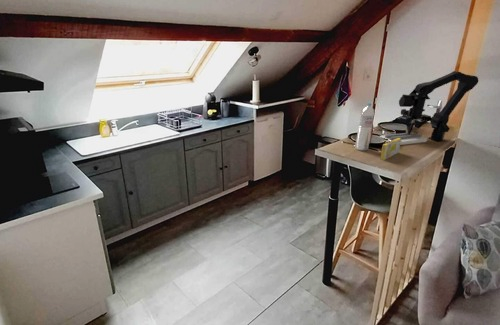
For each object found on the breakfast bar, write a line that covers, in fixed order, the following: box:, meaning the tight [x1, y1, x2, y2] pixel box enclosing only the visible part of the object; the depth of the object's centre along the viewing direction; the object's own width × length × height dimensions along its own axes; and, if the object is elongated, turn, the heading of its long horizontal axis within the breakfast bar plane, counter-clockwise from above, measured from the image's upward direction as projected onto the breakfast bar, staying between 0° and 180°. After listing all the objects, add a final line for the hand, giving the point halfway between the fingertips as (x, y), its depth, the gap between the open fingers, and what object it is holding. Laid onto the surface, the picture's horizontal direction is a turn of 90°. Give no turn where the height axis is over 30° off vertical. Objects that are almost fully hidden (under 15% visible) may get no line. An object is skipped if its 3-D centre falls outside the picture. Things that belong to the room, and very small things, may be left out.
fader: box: [405, 125, 420, 135], centre depth 173 cm, size 4×5×5 cm
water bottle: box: [354, 103, 376, 152], centre depth 154 cm, size 7×7×25 cm
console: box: [379, 132, 428, 146], centre depth 173 cm, size 24×12×4 cm, turn 108°
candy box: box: [380, 138, 401, 161], centre depth 149 cm, size 16×2×8 cm, turn 129°
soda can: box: [369, 124, 374, 143], centre depth 166 cm, size 7×7×12 cm
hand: (411, 132), depth 173 cm, fingers closed on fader, 4 cm apart
